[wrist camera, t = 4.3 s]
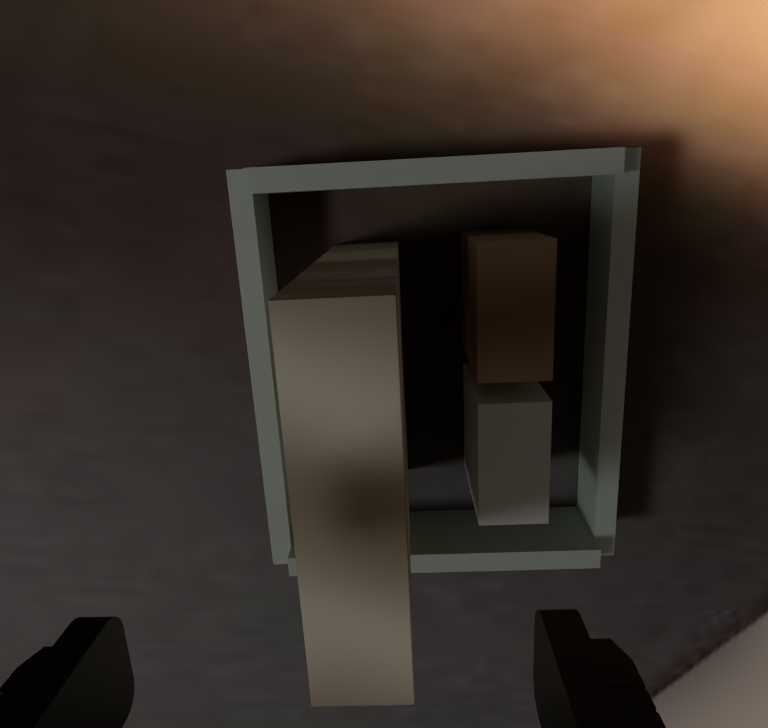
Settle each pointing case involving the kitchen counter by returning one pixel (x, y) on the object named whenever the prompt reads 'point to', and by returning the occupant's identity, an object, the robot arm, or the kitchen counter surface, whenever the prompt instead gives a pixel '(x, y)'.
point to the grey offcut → (507, 450)
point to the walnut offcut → (509, 304)
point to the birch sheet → (348, 471)
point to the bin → (600, 367)
